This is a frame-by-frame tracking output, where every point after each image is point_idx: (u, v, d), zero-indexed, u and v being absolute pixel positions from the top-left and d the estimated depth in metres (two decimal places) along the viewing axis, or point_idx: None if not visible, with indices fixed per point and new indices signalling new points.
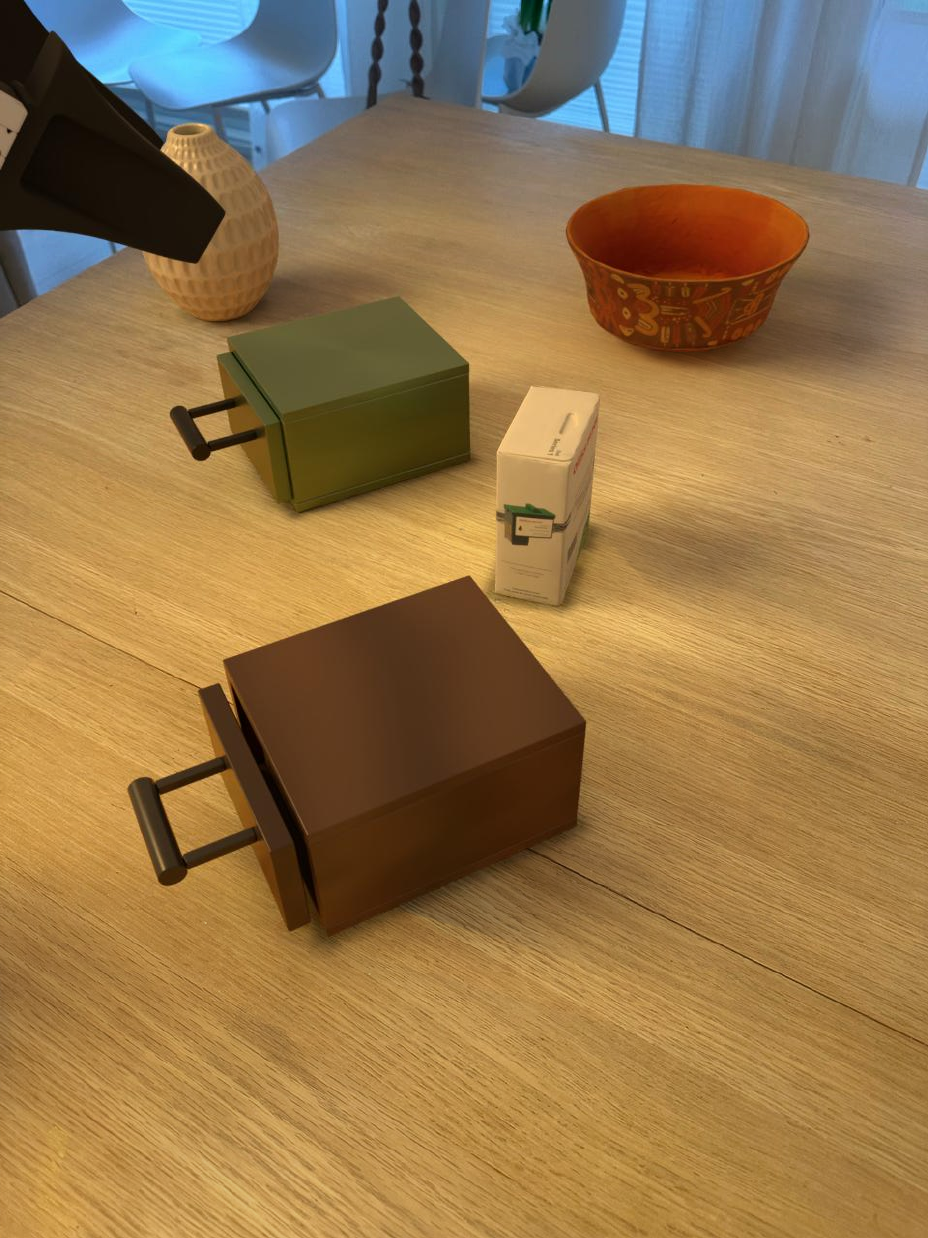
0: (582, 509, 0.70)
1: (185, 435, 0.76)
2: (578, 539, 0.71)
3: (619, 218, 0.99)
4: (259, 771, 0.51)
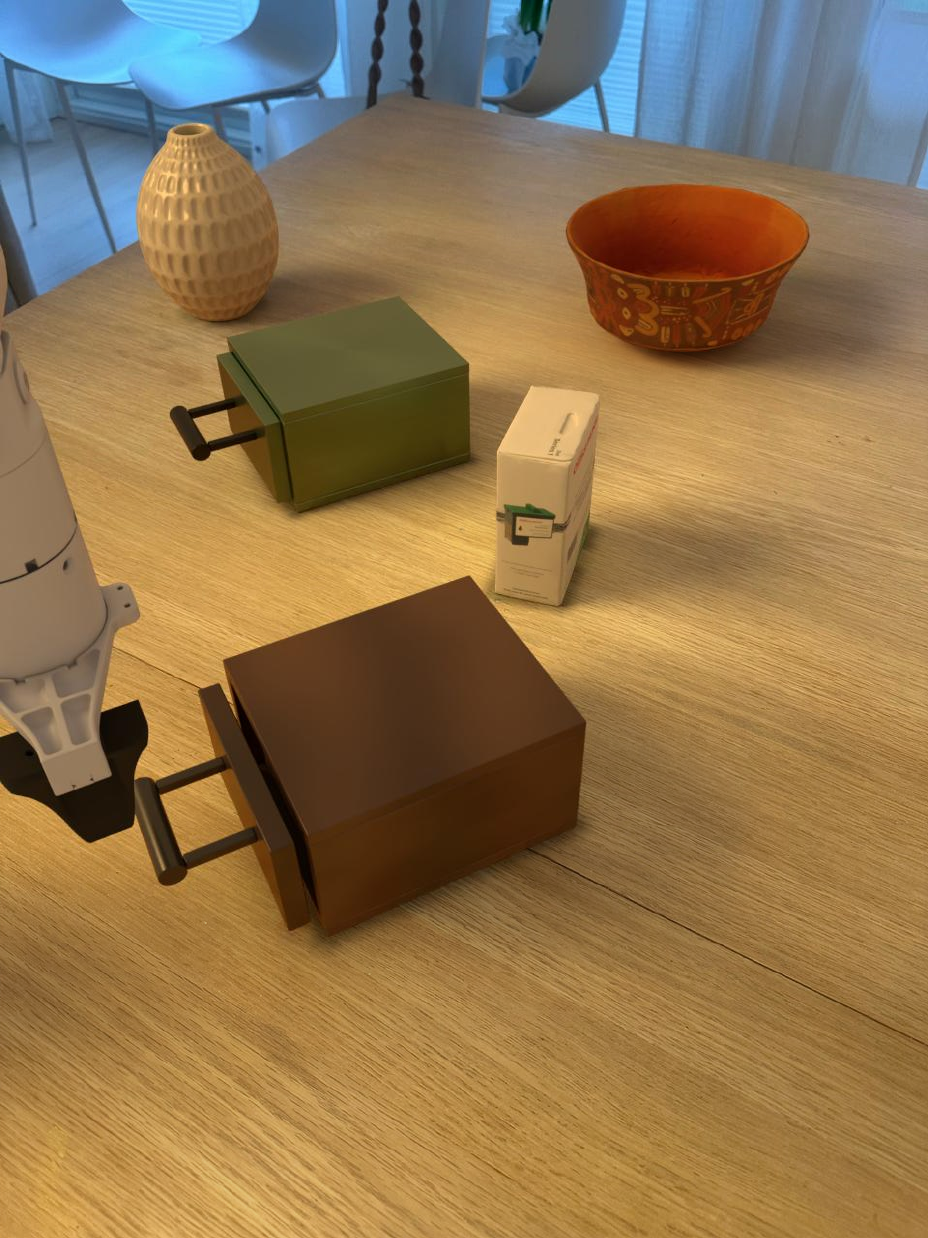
0: (582, 509, 0.70)
1: (185, 435, 0.76)
2: (578, 539, 0.71)
3: (619, 218, 0.99)
4: (259, 771, 0.51)
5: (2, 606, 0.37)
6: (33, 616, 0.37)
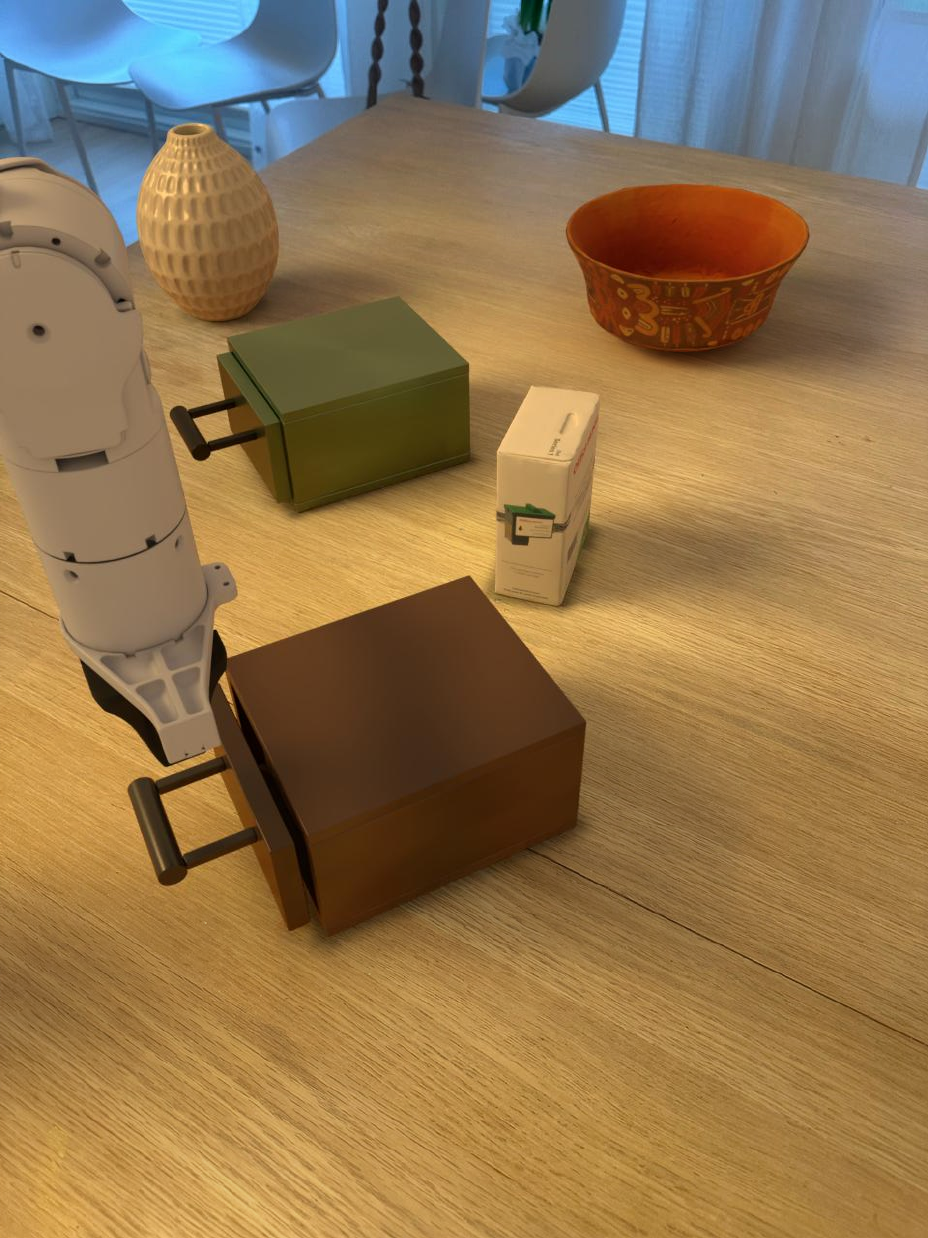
0: (582, 509, 0.70)
1: (185, 435, 0.76)
2: (578, 539, 0.71)
3: (619, 218, 0.99)
4: (259, 771, 0.51)
5: (119, 582, 0.38)
6: (146, 592, 0.39)
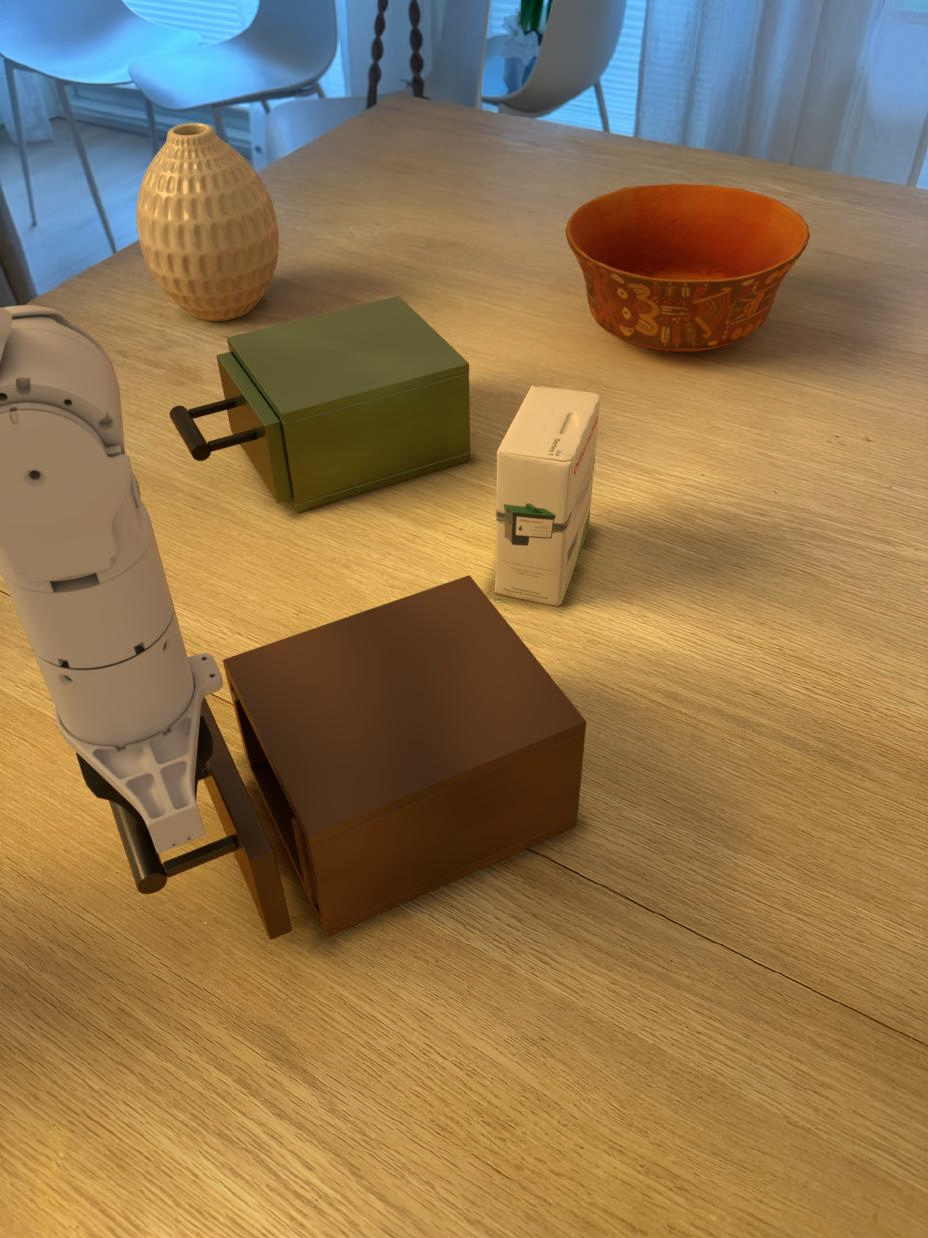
0: (582, 509, 0.70)
1: (185, 435, 0.76)
2: (578, 539, 0.71)
3: (619, 218, 0.99)
4: (239, 778, 0.50)
5: (111, 685, 0.41)
6: (136, 692, 0.42)
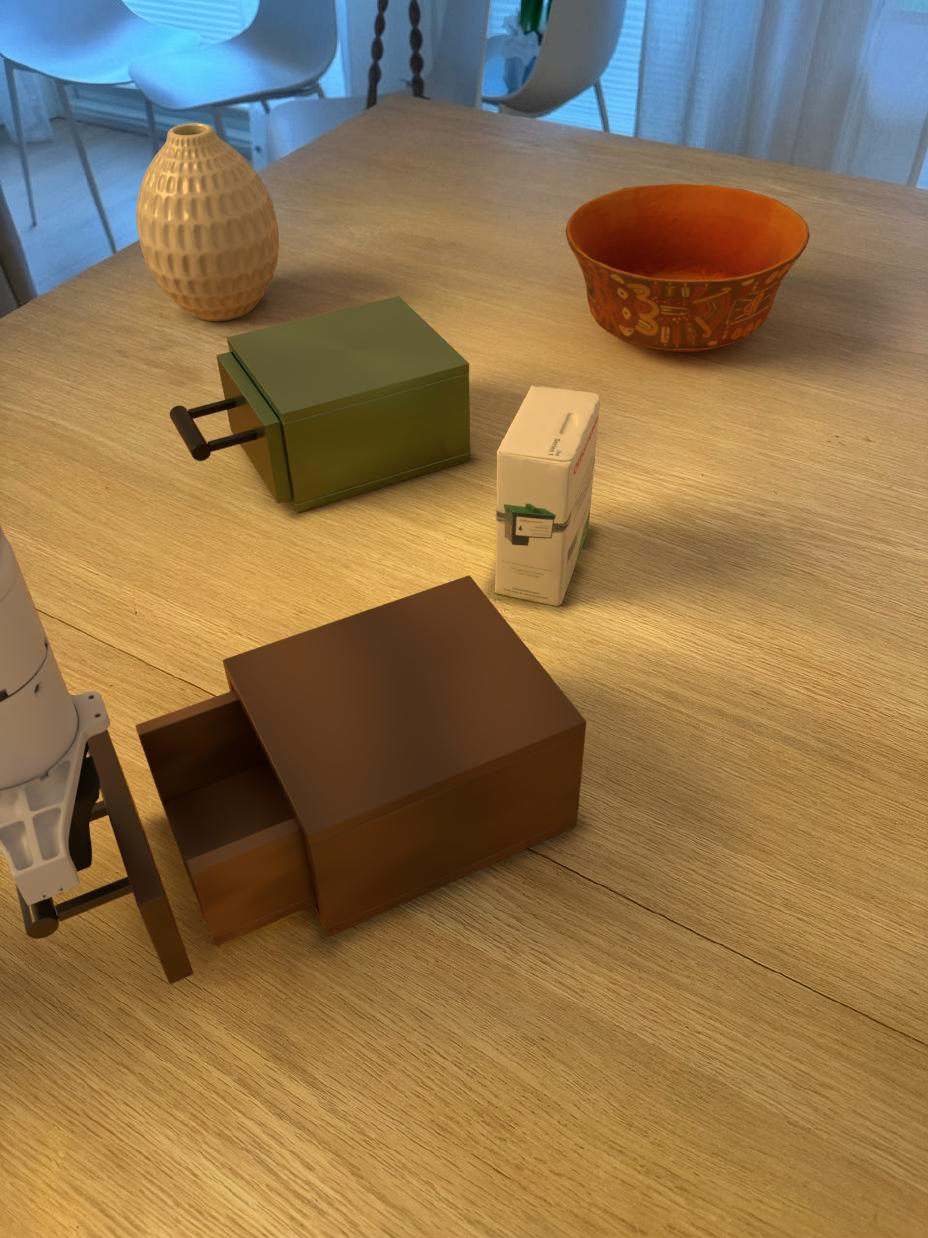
0: (582, 509, 0.70)
1: (185, 435, 0.76)
2: (578, 539, 0.71)
3: (619, 218, 0.99)
4: (136, 818, 0.49)
5: None
6: (6, 737, 0.40)
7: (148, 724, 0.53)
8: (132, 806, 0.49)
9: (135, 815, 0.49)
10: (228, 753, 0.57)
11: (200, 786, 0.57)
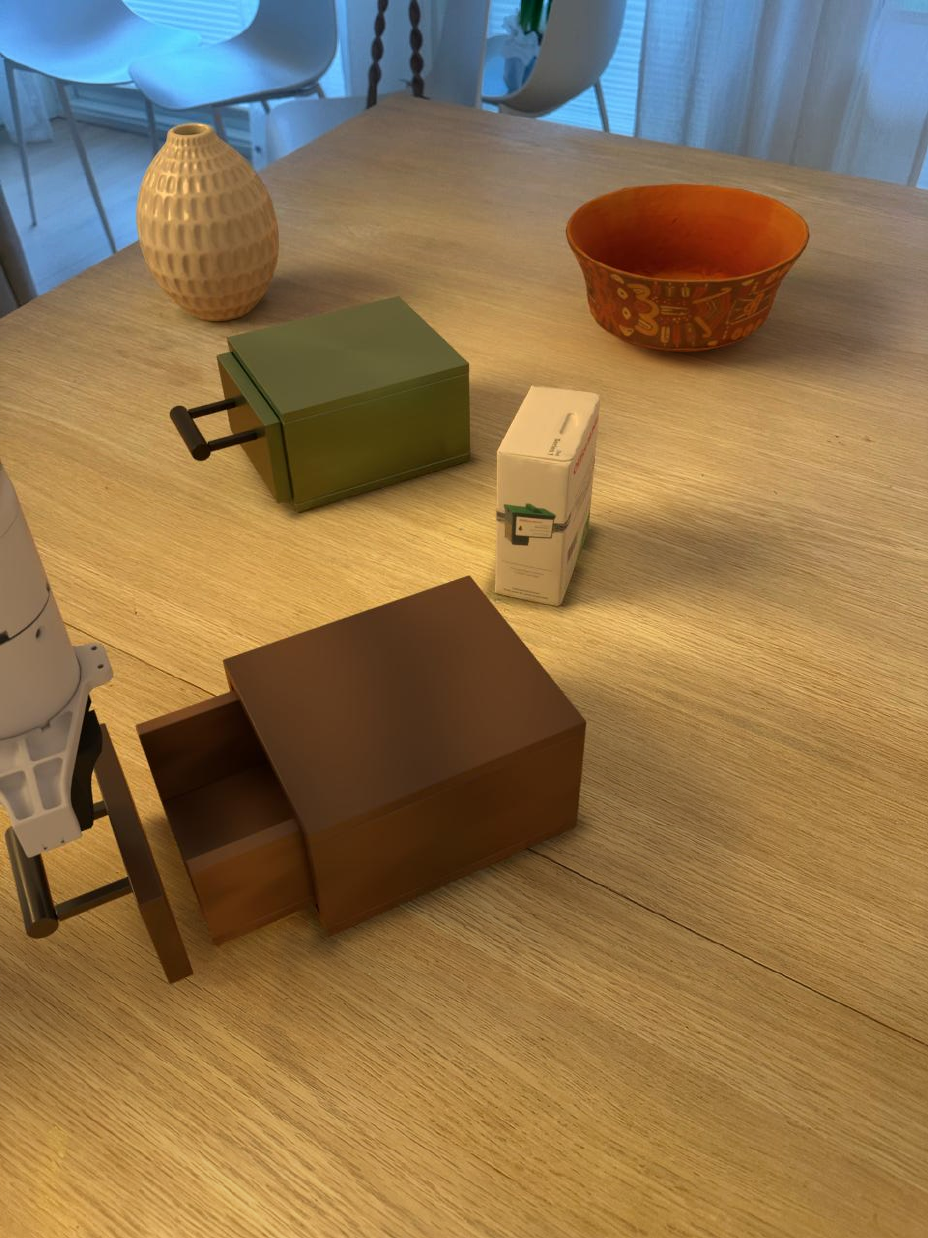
0: (582, 509, 0.70)
1: (185, 435, 0.76)
2: (578, 539, 0.71)
3: (619, 218, 0.99)
4: (136, 818, 0.49)
5: None
6: (6, 683, 0.39)
7: (148, 724, 0.53)
8: (132, 806, 0.49)
9: (135, 815, 0.49)
10: (228, 753, 0.57)
11: (200, 786, 0.57)
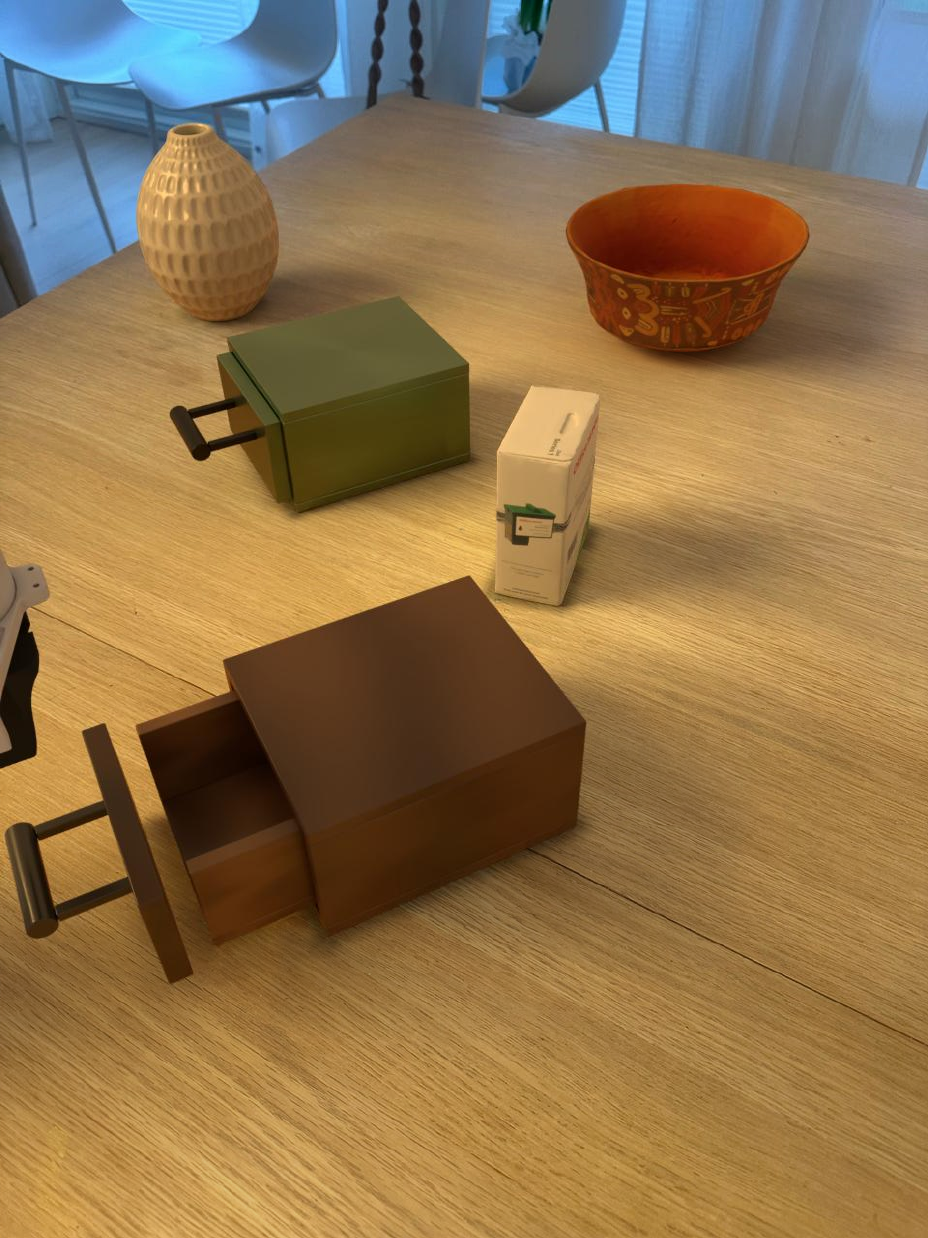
0: (582, 509, 0.70)
1: (185, 435, 0.76)
2: (578, 539, 0.71)
3: (619, 218, 0.99)
4: (136, 818, 0.49)
5: None
6: None
7: (148, 724, 0.53)
8: (132, 806, 0.49)
9: (135, 815, 0.49)
10: (228, 753, 0.57)
11: (200, 786, 0.57)
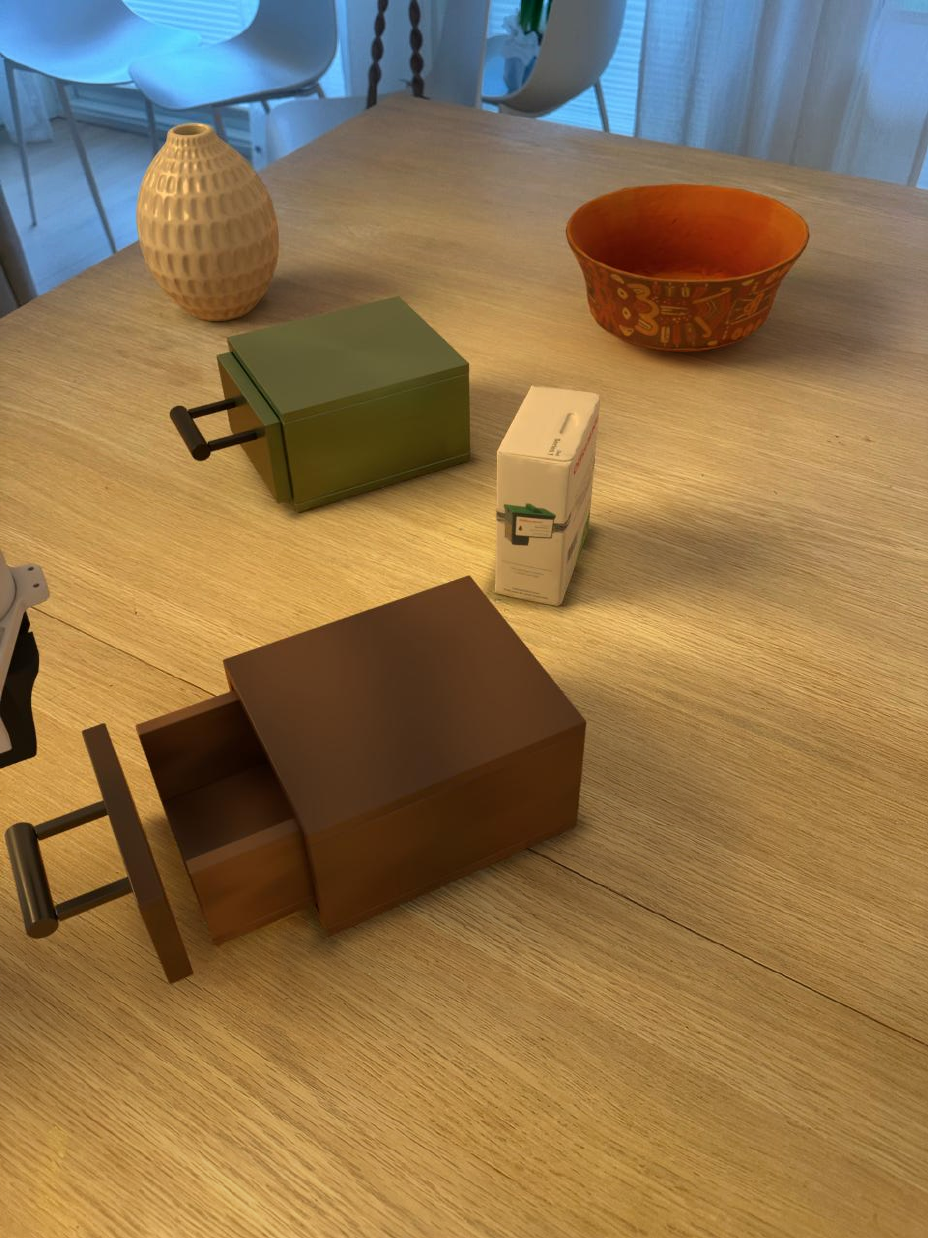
0: (582, 509, 0.70)
1: (185, 435, 0.76)
2: (578, 539, 0.71)
3: (619, 218, 0.99)
4: (136, 818, 0.49)
5: None
6: None
7: (148, 724, 0.53)
8: (132, 806, 0.49)
9: (135, 815, 0.49)
10: (228, 753, 0.57)
11: (200, 786, 0.57)
